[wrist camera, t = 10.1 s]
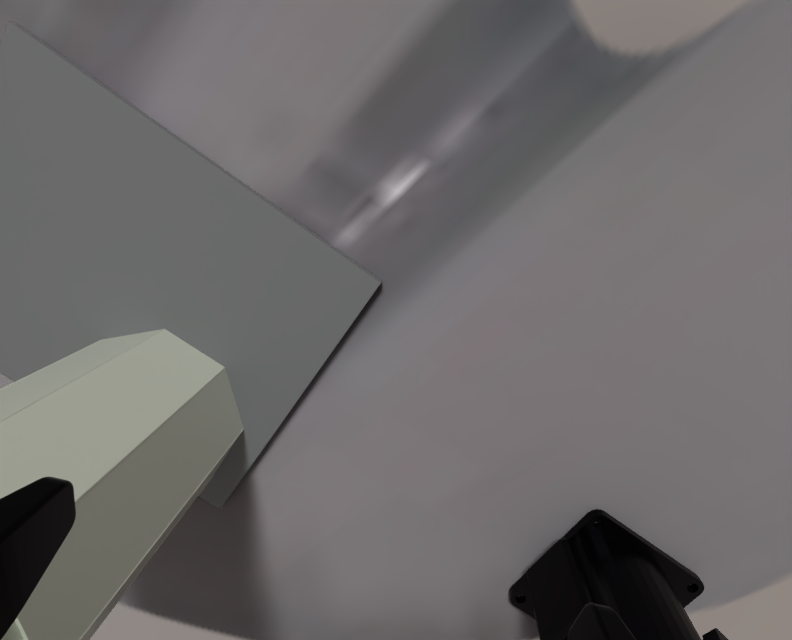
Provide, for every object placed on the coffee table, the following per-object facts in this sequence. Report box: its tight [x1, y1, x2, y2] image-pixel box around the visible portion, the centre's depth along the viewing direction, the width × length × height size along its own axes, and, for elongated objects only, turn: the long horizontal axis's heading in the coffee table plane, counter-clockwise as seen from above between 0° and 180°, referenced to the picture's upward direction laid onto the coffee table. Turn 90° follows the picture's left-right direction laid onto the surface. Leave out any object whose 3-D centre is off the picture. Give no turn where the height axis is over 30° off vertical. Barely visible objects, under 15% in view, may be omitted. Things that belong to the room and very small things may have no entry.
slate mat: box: [0, 21, 382, 510], centre depth 21 cm, size 17×14×1 cm
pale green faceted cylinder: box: [0, 329, 244, 640], centre depth 17 cm, size 7×7×12 cm
